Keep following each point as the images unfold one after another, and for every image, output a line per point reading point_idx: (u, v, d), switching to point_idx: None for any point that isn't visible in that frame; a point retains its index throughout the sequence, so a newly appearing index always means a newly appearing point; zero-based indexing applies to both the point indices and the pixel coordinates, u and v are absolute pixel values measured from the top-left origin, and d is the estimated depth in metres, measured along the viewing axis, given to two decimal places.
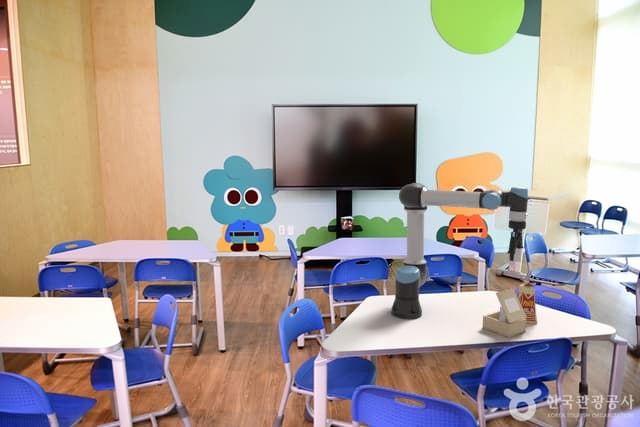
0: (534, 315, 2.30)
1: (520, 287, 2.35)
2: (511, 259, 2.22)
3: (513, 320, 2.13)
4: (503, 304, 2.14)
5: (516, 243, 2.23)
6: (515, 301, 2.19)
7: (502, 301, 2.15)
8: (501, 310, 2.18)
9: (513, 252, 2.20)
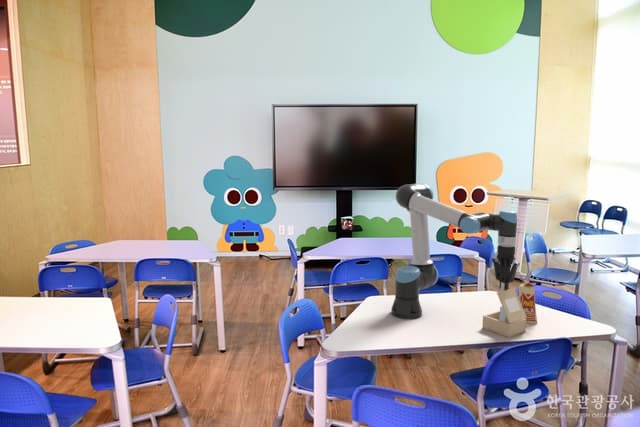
0: (534, 315, 2.30)
1: (520, 288, 2.35)
2: None
3: (513, 320, 2.13)
4: (504, 304, 2.14)
5: (499, 270, 2.20)
6: (516, 300, 2.19)
7: (503, 301, 2.15)
8: (501, 310, 2.18)
9: None
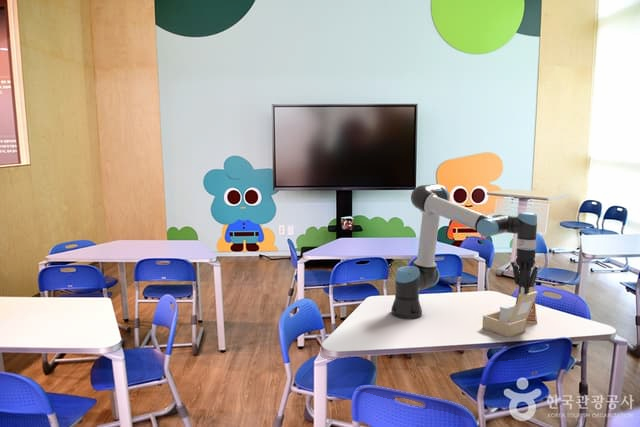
0: (534, 315, 2.30)
1: None
2: None
3: (514, 321, 2.12)
4: (518, 307, 2.08)
5: (519, 274, 2.12)
6: (530, 304, 2.13)
7: (519, 304, 2.08)
8: (501, 310, 2.18)
9: (515, 283, 2.13)
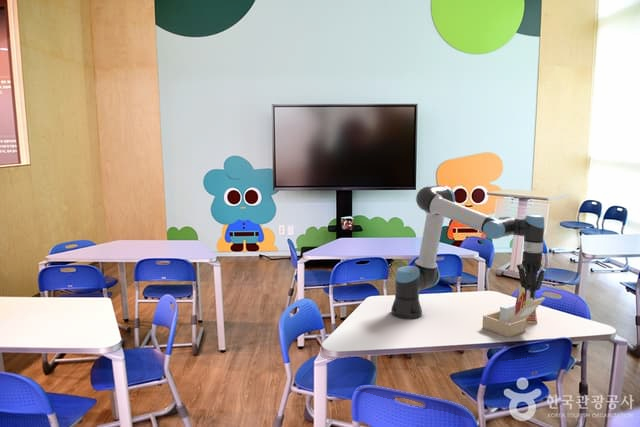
0: (534, 315, 2.30)
1: (520, 288, 2.35)
2: None
3: (514, 321, 2.12)
4: (522, 311, 2.07)
5: (525, 277, 2.09)
6: (534, 308, 2.12)
7: (524, 309, 2.06)
8: (501, 310, 2.18)
9: (521, 286, 2.11)
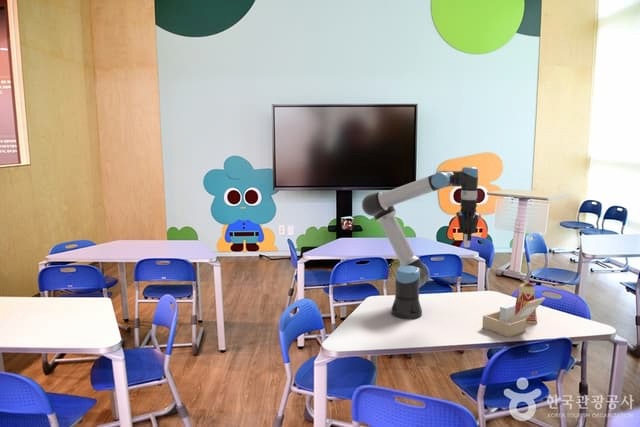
0: (534, 315, 2.30)
1: (520, 288, 2.35)
2: None
3: (514, 321, 2.12)
4: (522, 311, 2.07)
5: (463, 222, 2.38)
6: (534, 308, 2.12)
7: (524, 309, 2.06)
8: (501, 310, 2.18)
9: (460, 231, 2.39)
